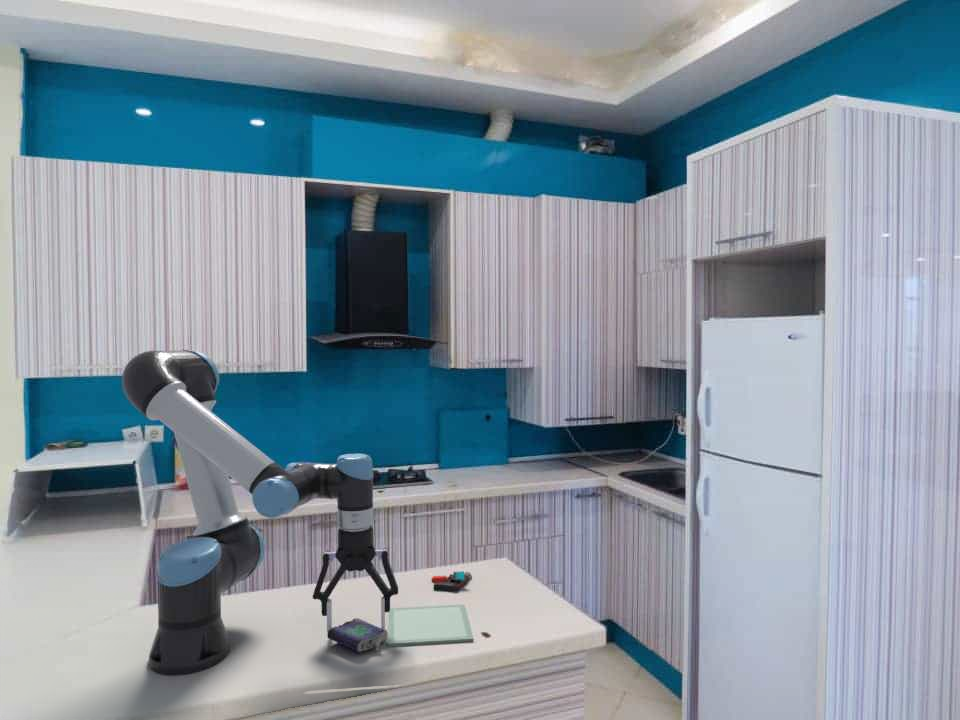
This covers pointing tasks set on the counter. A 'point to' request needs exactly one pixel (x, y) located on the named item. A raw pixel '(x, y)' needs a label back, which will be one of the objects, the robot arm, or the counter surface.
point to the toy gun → (451, 581)
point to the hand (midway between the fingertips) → (356, 628)
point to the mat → (428, 625)
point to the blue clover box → (358, 635)
